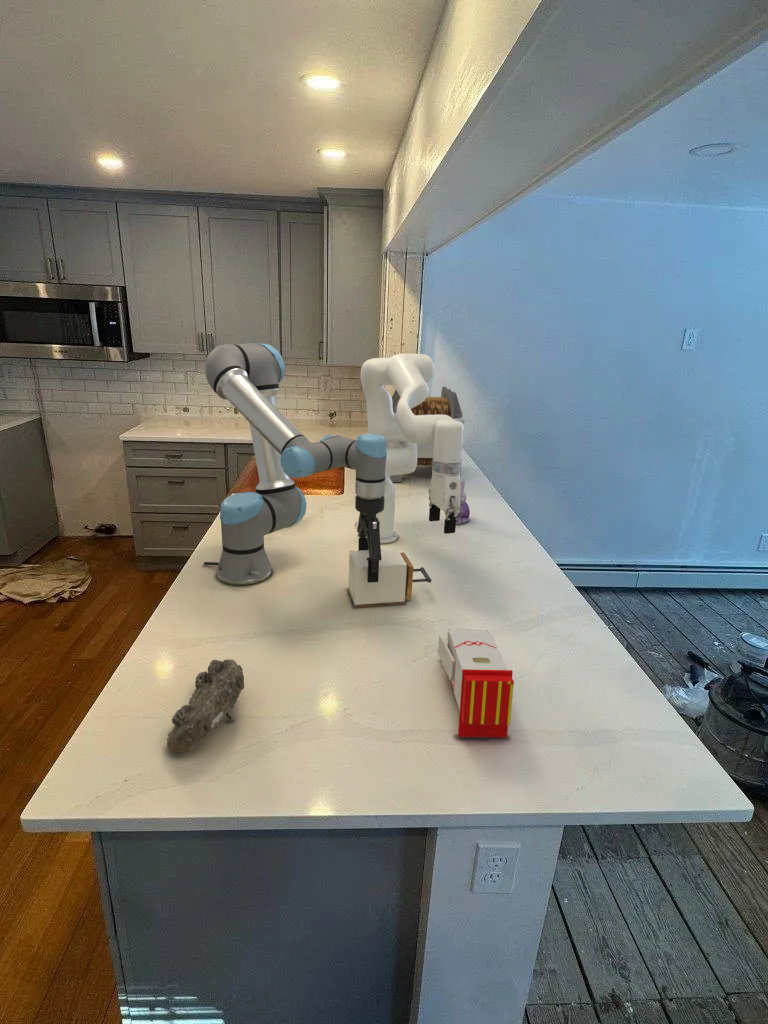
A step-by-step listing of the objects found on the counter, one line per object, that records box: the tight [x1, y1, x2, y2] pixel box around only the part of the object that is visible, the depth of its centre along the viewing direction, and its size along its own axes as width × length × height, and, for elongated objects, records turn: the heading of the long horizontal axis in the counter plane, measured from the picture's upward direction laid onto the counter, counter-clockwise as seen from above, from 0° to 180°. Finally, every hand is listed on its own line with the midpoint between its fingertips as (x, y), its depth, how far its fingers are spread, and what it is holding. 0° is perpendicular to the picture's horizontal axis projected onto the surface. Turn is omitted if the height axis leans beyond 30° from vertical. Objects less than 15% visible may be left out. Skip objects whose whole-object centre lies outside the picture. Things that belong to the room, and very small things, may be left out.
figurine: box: [448, 481, 471, 525], centre depth 212 cm, size 9×10×15 cm
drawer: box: [400, 552, 433, 600], centre depth 155 cm, size 18×9×10 cm, turn 103°
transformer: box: [386, 386, 465, 483], centre depth 268 cm, size 34×33×41 cm
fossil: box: [166, 658, 245, 754], centre depth 106 cm, size 22×10×15 cm
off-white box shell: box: [347, 548, 407, 609], centre depth 154 cm, size 14×11×12 cm
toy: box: [437, 628, 515, 738], centre depth 117 cm, size 12×13×30 cm
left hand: (367, 570), depth 152 cm, fingers open, 13 cm apart
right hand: (441, 526), depth 157 cm, fingers open, 9 cm apart
